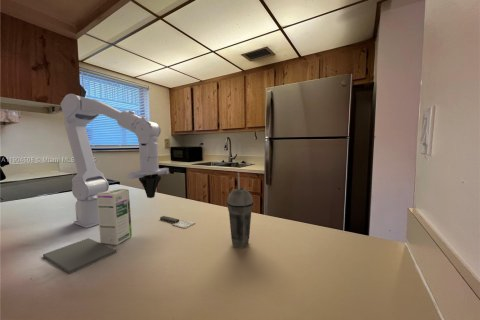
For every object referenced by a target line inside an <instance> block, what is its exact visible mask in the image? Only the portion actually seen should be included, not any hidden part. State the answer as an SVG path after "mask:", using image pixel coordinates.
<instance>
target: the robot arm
mask: <svg viewBox="0 0 480 320" xmlns="http://www.w3.org/2000/svg"><path fill="white" fill-rule="evenodd" d="M60 107H61V110H62V115H63V120H64V122H63V124H64V127H65V131H66V135H67V138H68V141H69V145H70V149H71V152H72V156H73V160H74V163H75V167H76V170H77V171H76V172H77V173H76V175H74V176H73V177H72V179H71V183H72V187H71V193H72V195H73V196H74V198H75V199H76V200H77V201H76V202H75V205H74V206H75V220H73V224H75V225H78V226H81V227H83V228H90V227H94V226H97V225H99V217H98V204H97V194H98V193H102V192H106V191H109V188H110V185H109V182H108V180H107V179H106V177H105V174H104V173H103V172H102V171H100V170H98V168H97V165H96V162H95V159H94V154H93V151H92V147H91V144H90V139H89V136H88V132H87V129H86V128H87V125H89V124H90V123H91V122H92V121H94V120H95V119H96V118H97V117H99V116H100V115H102V116H105V117H108V118H110V119H112V120H115V121H116V123H117V124H118V126H119V127H121V128H122V129H125V130H128V131H129V132H132V133H134V134H135V136H136V137H137V142H138V146H139V147H138V148H139V149H138V150H139V151H138V152H139V170H137V171H133V172H131V171H130V172H127V173H126V177H127V180H136V179H138V181H139V182H140V184H141V185H142V187H143V189H144V192H145V195H146V197H147V198H148V199H153V198H155V196H156V192H157V187H158V185H159V182H160V181H161V179H162V176H161V175H168V174H170V170H169V169H170V168H169V167H163V168H160V167H159V166H160V165H159V144H158V143H159V141H158V137H159V136H160V135H161V132H162V130H161V127H160V125H159V124H158V123H157V122H155V121H154V120H153V121H150V120H147V117H145V116H140V115H137V114H136V112H135V111H134V110H123V111H121V110H119V109H116V108H115V107H113V106H111V105H109V104H107V103H105V102H103V101H99V100H97V99H94V98H88V97H84V96H81V95H76V94H75V93H68V94H66V95H65V96H64V97H63V99H62V101H61V102H60Z"/></svg>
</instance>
